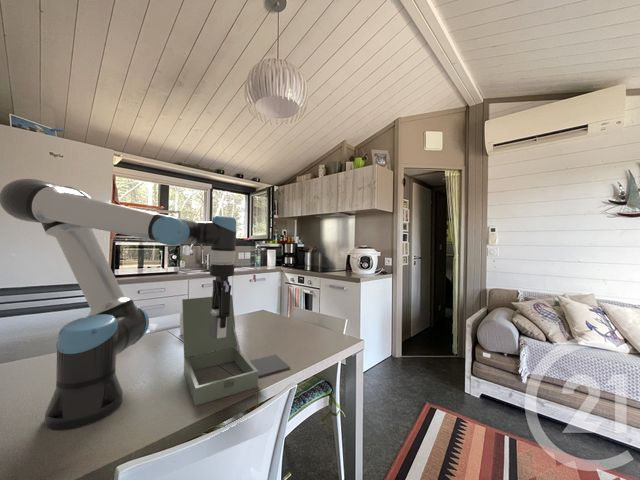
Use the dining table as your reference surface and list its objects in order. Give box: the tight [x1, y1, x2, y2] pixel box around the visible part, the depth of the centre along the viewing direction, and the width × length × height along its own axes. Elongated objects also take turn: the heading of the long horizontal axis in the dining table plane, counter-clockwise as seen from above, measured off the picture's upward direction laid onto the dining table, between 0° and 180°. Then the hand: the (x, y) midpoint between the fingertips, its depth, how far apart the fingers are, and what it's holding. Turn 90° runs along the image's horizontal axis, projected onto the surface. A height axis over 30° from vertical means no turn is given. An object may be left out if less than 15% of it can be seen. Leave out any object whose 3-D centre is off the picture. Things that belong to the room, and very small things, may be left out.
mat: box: [249, 354, 291, 379], centre depth 96 cm, size 12×12×1 cm
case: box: [181, 294, 259, 407], centre depth 89 cm, size 18×31×23 cm, turn 35°
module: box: [209, 309, 230, 339], centre depth 86 cm, size 5×5×8 cm
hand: (218, 334), depth 86 cm, fingers closed on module, 5 cm apart
